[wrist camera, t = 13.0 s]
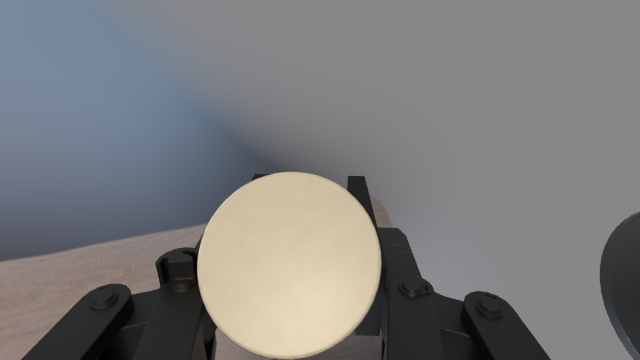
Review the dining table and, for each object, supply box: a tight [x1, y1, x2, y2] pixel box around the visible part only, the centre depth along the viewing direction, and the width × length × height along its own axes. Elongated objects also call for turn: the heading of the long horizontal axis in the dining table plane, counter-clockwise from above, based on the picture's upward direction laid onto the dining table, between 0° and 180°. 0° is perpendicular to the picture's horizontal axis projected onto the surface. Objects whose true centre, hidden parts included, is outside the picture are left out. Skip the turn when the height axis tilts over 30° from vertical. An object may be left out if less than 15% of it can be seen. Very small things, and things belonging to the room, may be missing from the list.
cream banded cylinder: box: [197, 172, 381, 360], centre depth 13 cm, size 4×4×13 cm
